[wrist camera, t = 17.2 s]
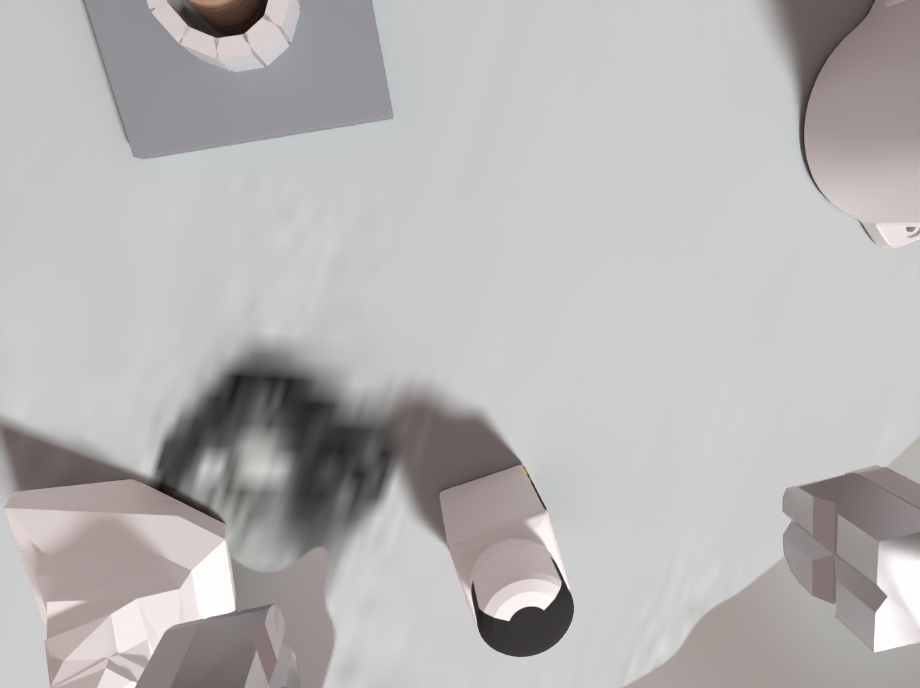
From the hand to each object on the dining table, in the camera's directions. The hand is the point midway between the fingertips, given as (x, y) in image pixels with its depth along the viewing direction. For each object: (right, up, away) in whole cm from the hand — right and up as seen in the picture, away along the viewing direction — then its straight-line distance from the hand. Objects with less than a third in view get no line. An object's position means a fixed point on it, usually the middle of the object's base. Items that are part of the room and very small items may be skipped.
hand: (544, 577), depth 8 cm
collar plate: (-15, +24, +24) cm, 37 cm away
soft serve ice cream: (-25, -12, +33) cm, 43 cm away
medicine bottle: (+1, -10, +35) cm, 37 cm away
